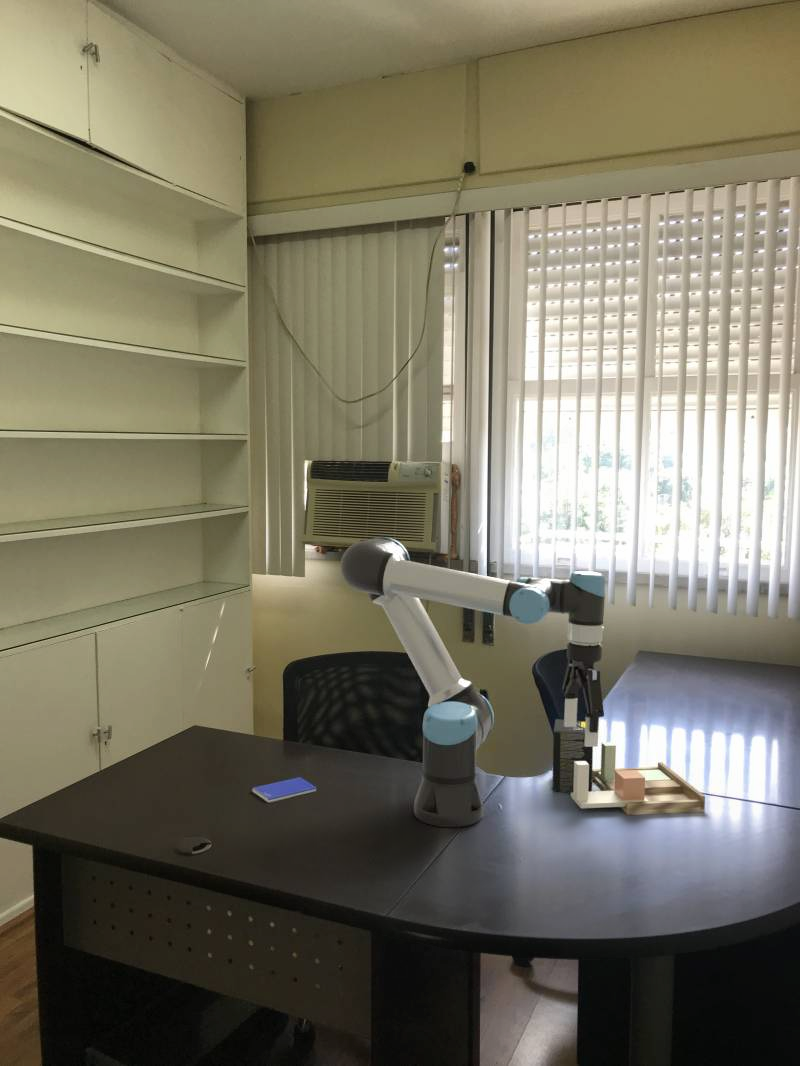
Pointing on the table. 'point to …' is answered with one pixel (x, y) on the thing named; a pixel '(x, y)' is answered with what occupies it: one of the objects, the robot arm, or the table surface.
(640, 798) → the cube
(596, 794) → the strip cream
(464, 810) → the robot arm
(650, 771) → the pale green l-shaped bracket
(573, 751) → the tampon box
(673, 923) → the table surface
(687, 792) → the lane board
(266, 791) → the hard drive
